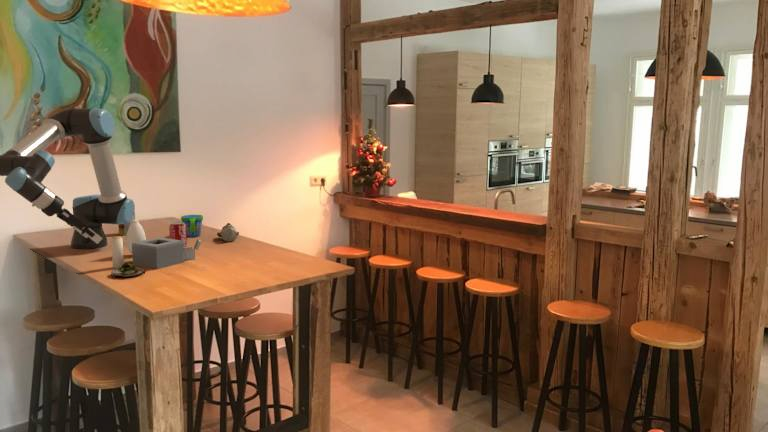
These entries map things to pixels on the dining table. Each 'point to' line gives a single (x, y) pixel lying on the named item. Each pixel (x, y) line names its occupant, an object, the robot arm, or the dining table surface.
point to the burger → (127, 269)
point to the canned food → (125, 227)
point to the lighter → (191, 251)
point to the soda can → (178, 232)
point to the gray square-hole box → (157, 252)
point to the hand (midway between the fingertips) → (94, 238)
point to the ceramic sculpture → (228, 233)
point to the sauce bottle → (134, 234)
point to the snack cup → (192, 225)
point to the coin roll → (117, 251)
